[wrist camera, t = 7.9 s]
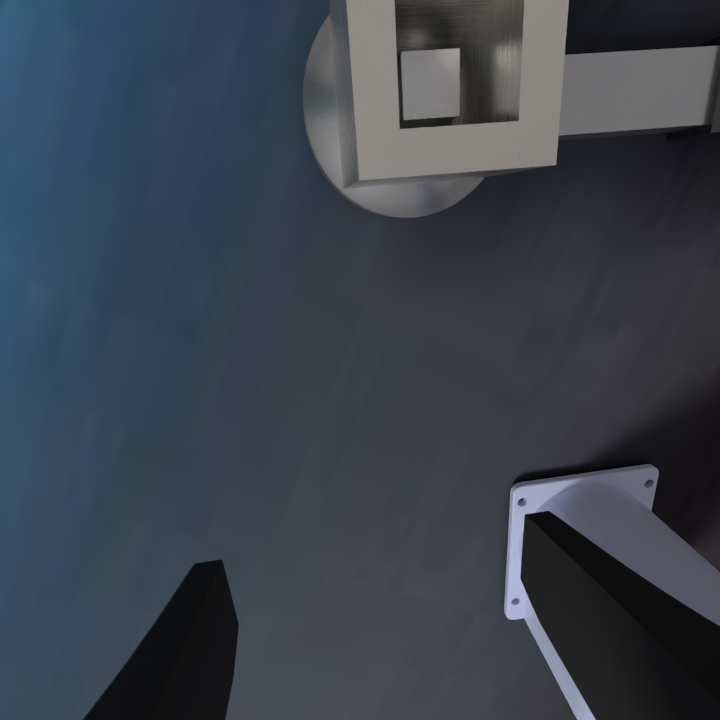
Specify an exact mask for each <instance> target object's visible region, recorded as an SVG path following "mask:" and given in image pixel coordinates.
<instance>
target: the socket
mask: <svg viewBox="0 0 720 720" xmlns="http://www.w3.org/2000/svg"><path fill="white" fill-rule="evenodd" d="M568 6H569V0H331V1H330V11H329V29H330V41H331V53H332V65H333V77H334V88H335V100H336V112H337V124H338V136H339V148H340V159H341V171H342V183H343V189H350V188H363V187H376V186H388V185H401V184H413V183H426V182H439V181H451V180H464V179H476V178H483V177H489V176H495V175H501V174H507V173H513V172H519V171H525V170H530V169H536V168H542V167H548V166H554V165H556V161H557V148H558V135H559V122H560V109H561V96H562V83H563V71H564V58H565V45H566V32H567V19H568ZM455 48H460V116H459V117H457V118H456V119H454V120H452V121H451V126H439V127H424V128H409V129H400V125H399V99H398V74H397V54H400V52H403V51H420V50H438V49H455Z"/></svg>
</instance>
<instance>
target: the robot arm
mask: <svg viewBox="0 0 720 720" xmlns="http://www.w3.org/2000/svg"><path fill="white" fill-rule="evenodd" d="M658 476H659V471H658V469H657V468H656V467H654V466H653V465H651V464H644V465H637V466H630V467H623V468H616V469H609V470H602V471H595V472H588V473H581V474H574V475H567V476H560V477H553V478H546V479H539V480H532V481H525V482H519V483H516V484H515V485H514V486H513V487H512V488H511V492H510V511H509V529H508V548H507V566H506V585H505V603H504V612H505V614H506V616H507V618H508V619H511V620H516V619H522V618H524V619H525V621H526V623H527V624H528V626H529V628H530V630H531V632H532V634H533V636H534V638H535V640H536V642H537V644H538V646H539V647H540V649H541V651H542V653H543V655H544V657H545V659H546V661H547V663H548V665H549V667H550V668H551V670H552V672H553V674H554V676H555V678H556V680H557V682H558V684H559V686H560V688H561V690H562V691H563V693H564V695H565V697H566V699H567V701H568V703H569V705H570V707H571V709H572V711H573V713H574V714H575V716H576V718H577V720H720V572H719V571H718V570H717V569H715V568H714V567H713V566H712V565H711V564H710V563H709V562H708V561H706V560H705V559H704V558H703V557H702V556H701V555H700V554H699V553H697V552H696V551H695V550H694V549H693V548H692V547H691V546H690V545H688V544H687V543H686V542H685V541H684V540H683V539H682V538H681V537H679V536H678V535H677V534H676V533H675V532H674V531H673V530H672V529H670V528H669V527H668V526H667V525H666V524H665V523H664V522H663V521H661V520H660V519H659V518H658V517H657V516H656V515H655V514H654V513H652V512H651V511H652V506H653V501H654V496H655V491H656V486H657V481H658ZM522 498H523V499H522ZM520 499H522V500H521V501H519V500H520ZM518 501H519V502H518ZM237 635H238V620H237V616H236V612H235V608H234V604H233V600H232V596H231V592H230V588H229V584H228V581H227V577H226V573H225V569H224V565H223V561H222V560H216V561H209V562H202V563H195V564H194V565H193V567H192V568H191V569H190V571H189V572H188V574H187V575H186V577H185V578H184V580H183V581H182V583H181V584H180V586H179V587H178V589H177V590H176V592H175V593H174V595H173V596H172V598H171V599H170V601H169V602H168V604H167V605H166V607H165V608H164V610H163V611H162V613H161V614H160V616H159V617H158V619H157V620H156V621H155V623H154V624H153V626H152V627H151V629H150V630H149V631H148V633H147V634H146V636H145V637H144V639H143V640H142V641H141V643H140V644H139V646H138V647H137V648H136V650H135V651H134V653H133V654H132V655H131V657H130V658H129V660H128V661H127V662H126V664H125V665H124V667H123V668H122V669H121V671H120V672H119V673H118V675H117V676H116V677H115V678H114V680H113V681H112V682H111V684H110V685H109V686H108V688H107V689H106V690H105V692H104V693H103V694H102V695H101V697H100V698H99V699H98V701H97V702H96V703H95V705H94V706H93V707H92V708H91V710H90V711H89V712H88V714H87V715H86V716H85V717H84V719H83V720H225V717H226V712H227V707H228V702H229V697H230V691H231V686H232V681H233V676H234V666H235V657H236V646H237Z"/></svg>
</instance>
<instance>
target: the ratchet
mask: <svg viewBox="0 0 720 720" xmlns="http://www.w3.org/2000/svg"><path fill="white" fill-rule="evenodd" d="M397 74H398V99H399V125H400V129H409V128H424V127H439V126H451V121H452V120H454V119H456V118H457V117H459V116H460V48H455V49H438V50H420V51H403V52H400V54H397ZM303 108H304V125H305V131H306V136H307V140H308V144H309V147H310V151H311V153H312V156H313V158H314V160H315V163H316V165H317V166H318V168H319V170H320V172H321V173H322V175H323V176H324V178H325V179H326V180H327V182H328V183H329V184H330V186H331V187H332V188H333V189H334V190H335V191H336V192H337V193H338V194H339V195H341V196H342V197H343V198H344V199H346V200H347V201H348V202H350V203H351V204H353V205H355V206H356V207H358V208H360V209H363V210H365V211H367V212H370V213H374V214H378V215H383V216H391V217H399V218H414V217H421V216H427V215H430V214H433V213H437V212H440V211H442V210H444V209H446V208H448V207H450V206H452V205H454V204H455V203H457V202H459V201H460V200H462V199H463V198H464V197H465V196H467V195H468V194H469V193H470V192H472V191H473V190H474V189H475V188H476V186H477V185H478V184H479V183H480V182H481V181H482V180H483V179H484V177H483V178H476V179H464V180H451V181H439V182H426V183H413V184H401V185H388V186H376V187H363V188H350V189H343V183H342V171H341V159H340V148H339V136H338V124H337V112H336V100H335V88H334V77H333V65H332V53H331V41H330V29H329V16H328V17H327V19H326V20H325V22H324V24H323V25H322V27H321V29H320V30H319V32H318V34H317V36H316V39H315V41H314V43H313V45H312V48H311V51H310V54H309V58H308V61H307V65H306V71H305V76H304V86H303ZM654 133H668V138H667V141H670V140H683V139H696V138H709V137H720V37H718V38H715V39H713V40H711V41H708V42H706V43H703V44H701V45H698V46H696V47H687V48H671V49H654V50H637V51H620V52H604V53H587V54H570V55H565V58H564V71H563V83H562V96H561V109H560V122H559V135H558V141H563V140H576V139H589V138H602V137H615V136H628V135H641V134H654Z"/></svg>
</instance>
